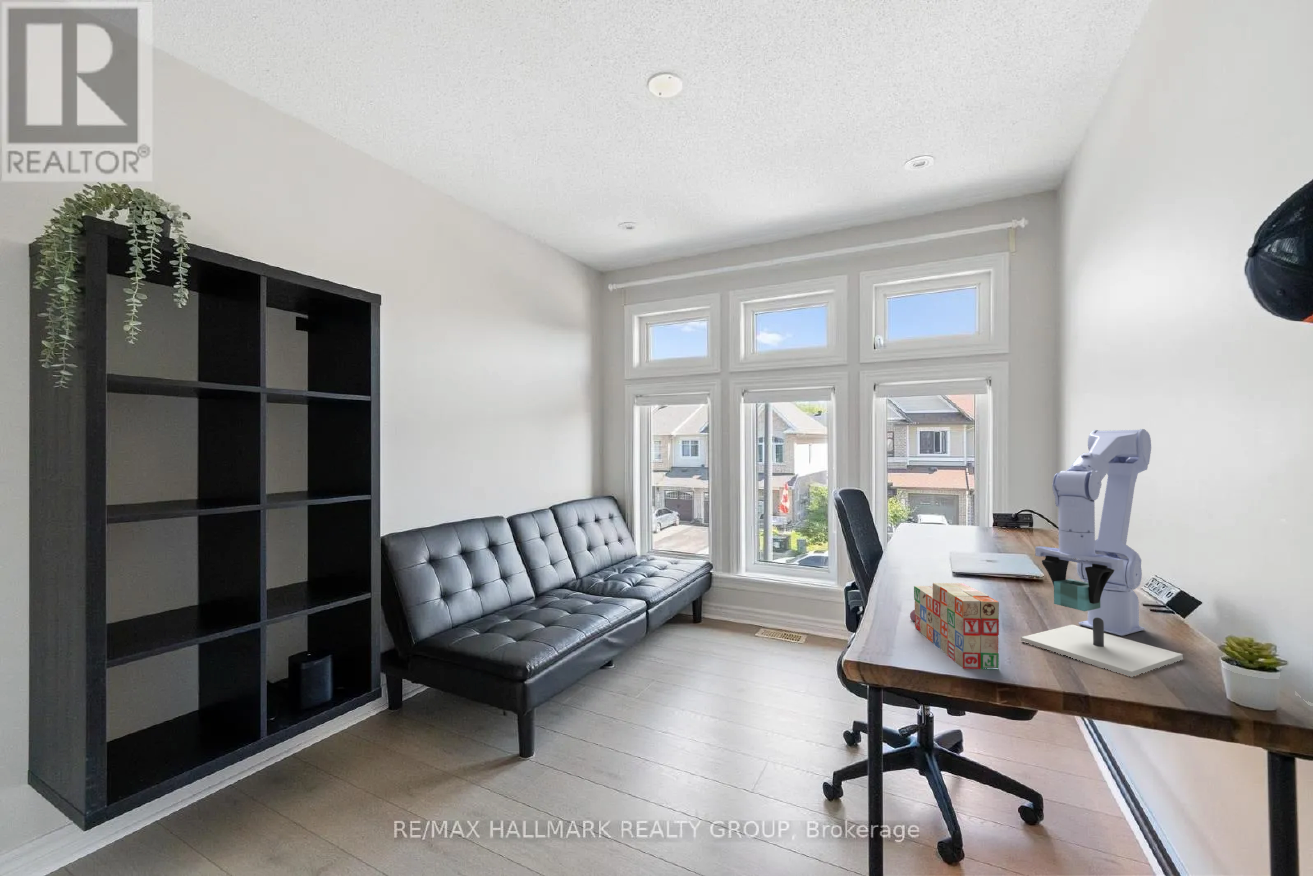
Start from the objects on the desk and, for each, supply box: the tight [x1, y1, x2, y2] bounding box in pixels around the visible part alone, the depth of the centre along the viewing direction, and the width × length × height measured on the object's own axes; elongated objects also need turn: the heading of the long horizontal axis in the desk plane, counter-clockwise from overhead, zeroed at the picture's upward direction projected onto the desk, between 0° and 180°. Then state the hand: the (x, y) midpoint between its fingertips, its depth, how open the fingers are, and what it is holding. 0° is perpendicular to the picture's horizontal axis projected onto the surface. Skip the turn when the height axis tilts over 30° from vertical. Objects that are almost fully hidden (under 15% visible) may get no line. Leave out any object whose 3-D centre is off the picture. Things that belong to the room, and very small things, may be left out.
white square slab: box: [1020, 618, 1184, 678], centre depth 102 cm, size 18×18×6 cm
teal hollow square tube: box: [1053, 578, 1100, 612], centre depth 106 cm, size 5×5×4 cm
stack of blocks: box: [913, 582, 1000, 670], centre depth 104 cm, size 21×6×12 cm, turn 176°
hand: (1077, 598), depth 106 cm, fingers closed on teal hollow square tube, 5 cm apart
